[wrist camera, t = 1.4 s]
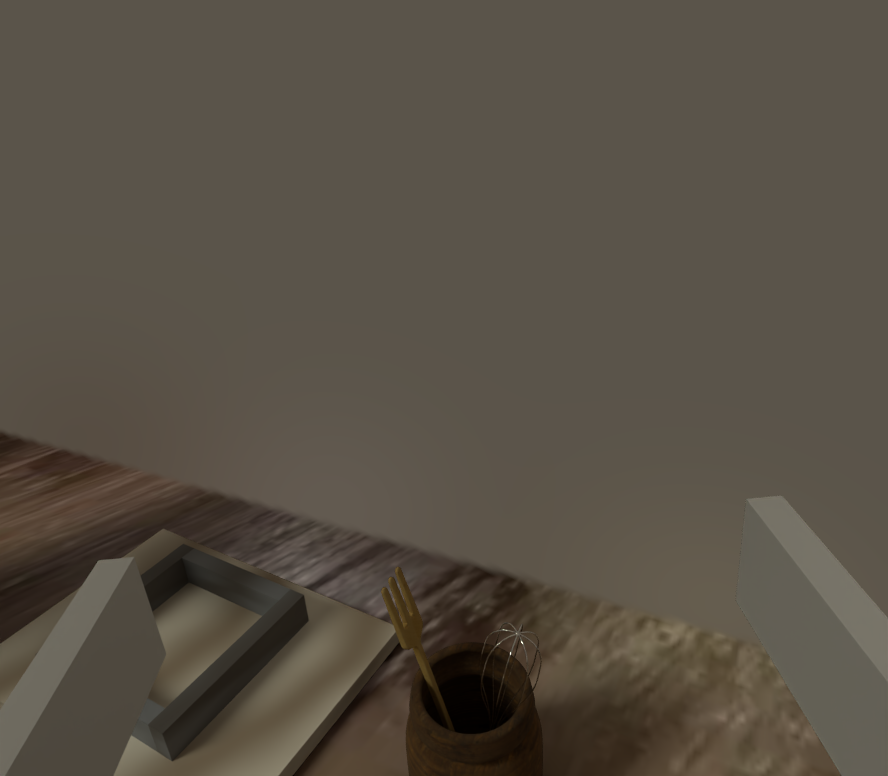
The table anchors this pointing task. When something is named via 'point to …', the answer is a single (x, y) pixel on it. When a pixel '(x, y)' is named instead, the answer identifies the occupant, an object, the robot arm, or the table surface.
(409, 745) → the utensil holder
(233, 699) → the collar board
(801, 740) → the table surface
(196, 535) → the table surface
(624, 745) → the table surface
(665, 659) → the table surface
